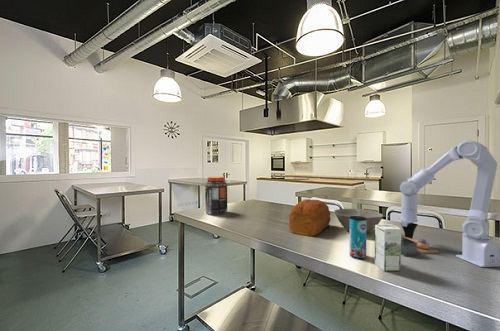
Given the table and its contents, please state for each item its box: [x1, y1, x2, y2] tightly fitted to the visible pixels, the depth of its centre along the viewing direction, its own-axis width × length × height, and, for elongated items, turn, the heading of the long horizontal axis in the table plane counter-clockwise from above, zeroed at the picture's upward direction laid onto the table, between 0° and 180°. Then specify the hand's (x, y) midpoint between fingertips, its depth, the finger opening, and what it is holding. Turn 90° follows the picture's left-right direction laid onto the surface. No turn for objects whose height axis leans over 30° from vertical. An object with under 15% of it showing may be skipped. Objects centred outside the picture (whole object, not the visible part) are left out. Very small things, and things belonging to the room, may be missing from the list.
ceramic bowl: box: [333, 208, 384, 233], centre depth 122 cm, size 22×23×10 cm
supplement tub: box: [204, 176, 228, 216], centre depth 167 cm, size 16×16×26 cm
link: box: [401, 235, 430, 249], centre depth 100 cm, size 14×4×3 cm, turn 31°
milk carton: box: [374, 223, 402, 272], centre depth 80 cm, size 6×6×14 cm
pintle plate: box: [417, 246, 439, 255], centre depth 96 cm, size 7×7×1 cm
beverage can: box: [349, 216, 368, 260], centre depth 90 cm, size 6×6×15 cm
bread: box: [288, 198, 331, 237], centre depth 127 cm, size 16×27×16 cm, turn 146°
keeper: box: [401, 236, 418, 257], centre depth 94 cm, size 8×5×5 cm, turn 4°
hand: (408, 239), depth 102 cm, fingers closed, pressing on link
